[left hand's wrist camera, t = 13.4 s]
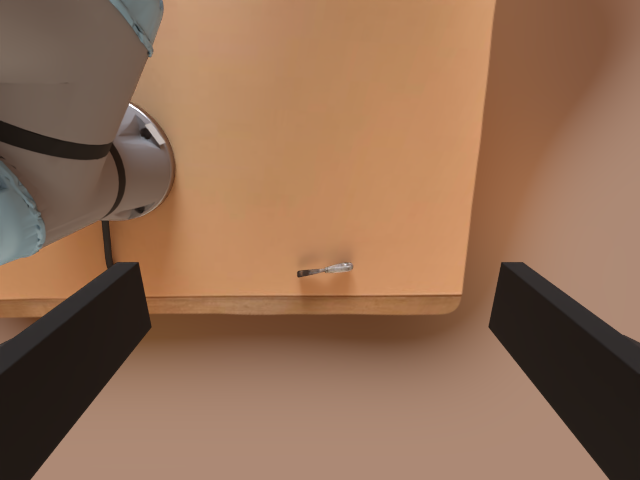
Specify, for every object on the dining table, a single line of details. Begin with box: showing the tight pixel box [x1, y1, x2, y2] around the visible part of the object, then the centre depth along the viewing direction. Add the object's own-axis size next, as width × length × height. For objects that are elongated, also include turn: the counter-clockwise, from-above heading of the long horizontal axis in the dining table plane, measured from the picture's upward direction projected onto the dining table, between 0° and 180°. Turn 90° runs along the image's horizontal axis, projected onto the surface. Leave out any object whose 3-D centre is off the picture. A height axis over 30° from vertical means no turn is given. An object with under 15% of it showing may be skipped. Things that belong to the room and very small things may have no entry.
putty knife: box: [297, 263, 353, 277], centre depth 48 cm, size 1×8×2 cm, turn 100°
